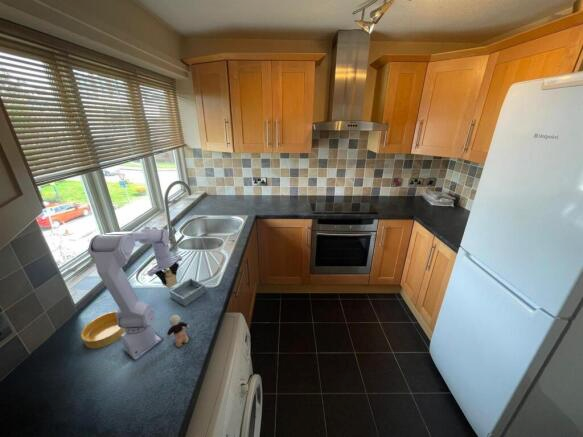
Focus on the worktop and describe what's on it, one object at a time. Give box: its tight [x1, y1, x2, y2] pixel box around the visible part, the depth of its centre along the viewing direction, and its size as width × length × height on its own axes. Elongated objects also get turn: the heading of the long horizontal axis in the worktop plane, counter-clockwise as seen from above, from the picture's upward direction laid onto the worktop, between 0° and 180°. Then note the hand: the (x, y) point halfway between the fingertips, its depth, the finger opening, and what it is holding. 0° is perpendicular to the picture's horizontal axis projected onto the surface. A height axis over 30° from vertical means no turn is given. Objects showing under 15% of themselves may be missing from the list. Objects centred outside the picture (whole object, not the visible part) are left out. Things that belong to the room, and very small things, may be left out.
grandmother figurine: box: [166, 314, 190, 348], centre depth 84 cm, size 8×4×13 cm, turn 141°
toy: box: [161, 268, 178, 289], centre depth 104 cm, size 4×5×8 cm
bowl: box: [80, 310, 125, 349], centre depth 90 cm, size 14×14×4 cm
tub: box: [169, 277, 207, 307], centre depth 110 cm, size 11×10×4 cm
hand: (169, 280), depth 105 cm, fingers closed on toy, 4 cm apart
